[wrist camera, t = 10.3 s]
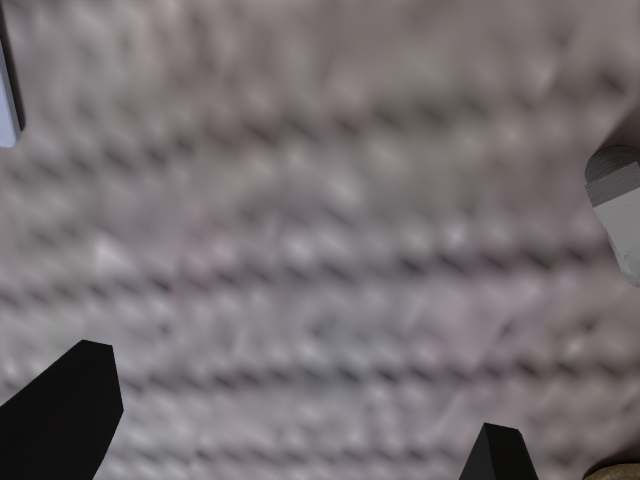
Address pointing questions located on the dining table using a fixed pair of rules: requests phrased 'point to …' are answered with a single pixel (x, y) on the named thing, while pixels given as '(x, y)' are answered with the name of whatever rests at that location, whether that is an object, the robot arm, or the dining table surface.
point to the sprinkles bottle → (617, 473)
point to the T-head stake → (618, 203)
